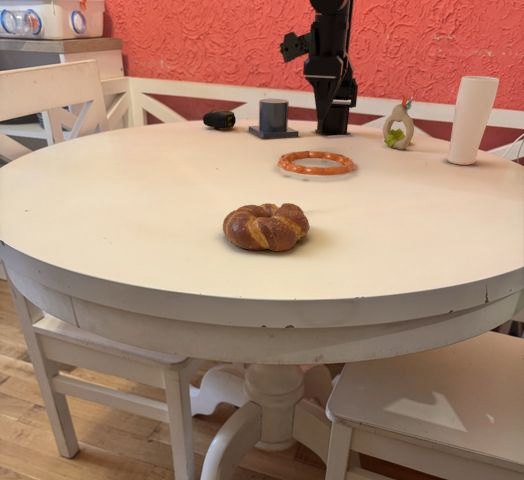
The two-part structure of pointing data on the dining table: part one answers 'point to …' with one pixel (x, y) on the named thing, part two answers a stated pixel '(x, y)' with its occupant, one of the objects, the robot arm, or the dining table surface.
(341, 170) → the ring
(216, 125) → the tape measure
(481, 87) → the drinking glass
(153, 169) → the dining table surface
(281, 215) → the pretzel
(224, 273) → the dining table surface
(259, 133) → the cup stand
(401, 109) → the beige hollow ornament
